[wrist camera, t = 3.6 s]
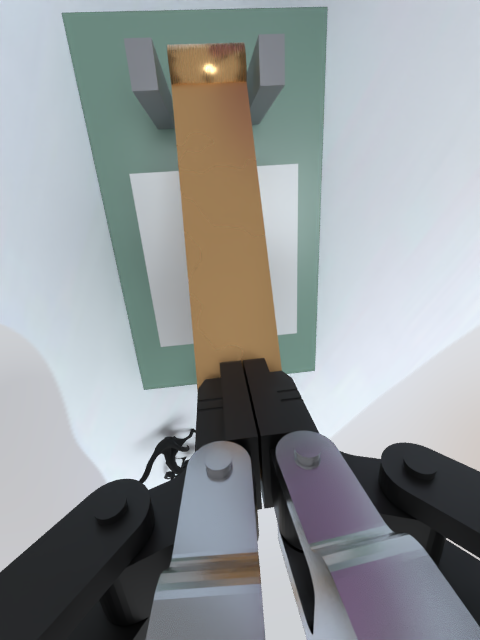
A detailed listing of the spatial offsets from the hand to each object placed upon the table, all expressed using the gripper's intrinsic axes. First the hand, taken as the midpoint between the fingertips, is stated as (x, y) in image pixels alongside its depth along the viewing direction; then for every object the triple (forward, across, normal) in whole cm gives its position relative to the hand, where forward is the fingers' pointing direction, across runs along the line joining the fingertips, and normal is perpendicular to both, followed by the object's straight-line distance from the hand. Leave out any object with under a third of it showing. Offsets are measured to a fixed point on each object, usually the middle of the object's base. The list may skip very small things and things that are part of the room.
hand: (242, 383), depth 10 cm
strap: (+4, 0, -4) cm, 5 cm away
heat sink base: (+14, 0, -4) cm, 14 cm away
